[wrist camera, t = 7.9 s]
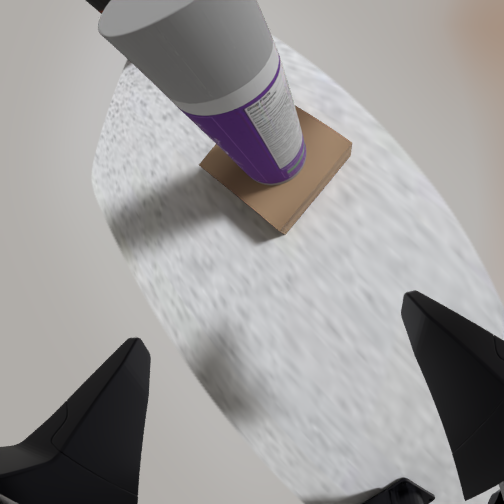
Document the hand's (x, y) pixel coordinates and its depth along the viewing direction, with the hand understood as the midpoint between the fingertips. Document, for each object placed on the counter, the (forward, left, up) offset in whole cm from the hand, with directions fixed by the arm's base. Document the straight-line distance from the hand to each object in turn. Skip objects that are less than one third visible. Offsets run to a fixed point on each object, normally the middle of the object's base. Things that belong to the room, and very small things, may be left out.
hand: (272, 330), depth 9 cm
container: (+8, -6, -10) cm, 14 cm away
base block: (+8, -6, -12) cm, 16 cm away
